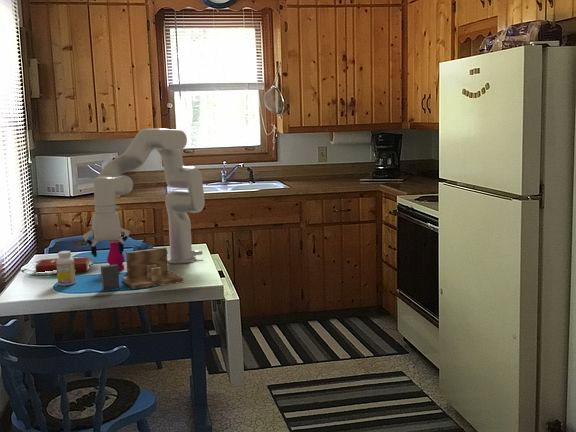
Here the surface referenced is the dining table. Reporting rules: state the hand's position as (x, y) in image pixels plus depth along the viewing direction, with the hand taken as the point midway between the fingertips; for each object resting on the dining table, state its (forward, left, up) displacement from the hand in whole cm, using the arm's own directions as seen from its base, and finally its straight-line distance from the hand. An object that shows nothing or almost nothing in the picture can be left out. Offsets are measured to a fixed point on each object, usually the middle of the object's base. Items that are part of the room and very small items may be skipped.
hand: (107, 255), depth 260 cm
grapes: (-19, -22, -14) cm, 33 cm away
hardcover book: (+9, -44, -14) cm, 47 cm away
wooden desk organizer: (-17, -2, -13) cm, 22 cm away
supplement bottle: (+13, -17, -14) cm, 25 cm away
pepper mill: (-10, -30, -14) cm, 35 cm away
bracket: (0, 0, -13) cm, 13 cm away
